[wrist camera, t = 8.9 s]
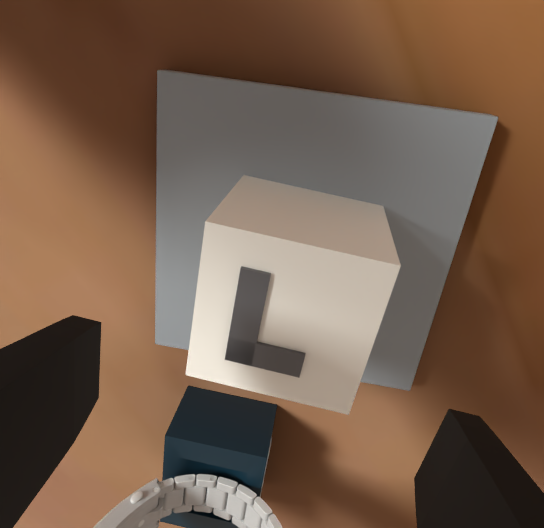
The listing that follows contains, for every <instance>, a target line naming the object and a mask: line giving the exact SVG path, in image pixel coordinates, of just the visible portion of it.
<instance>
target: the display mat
mask: <svg viewBox="0 0 544 528" xmlns="http://www.w3.org/2000/svg"><path fill="white" fill-rule="evenodd" d="M497 120H498V117H497V116H494V115H491V114H485V113H478V112H471V111H463V110H456V109H449V108H441V107H434V106H427V105H420V104H412V103H405V102H398V101H391V100H383V99H376V98H369V97H361V96H354V95H347V94H340V93H332V92H325V91H318V90H311V89H303V88H296V87H289V86H281V85H274V84H267V83H260V82H252V81H245V80H238V79H231V78H223V77H216V76H209V75H202V74H194V73H187V72H180V71H172V70H157V170H156V307H155V344H159V345H164V346H169V347H175V348H180V349H186V350H189V344H190V336H191V328H192V321H193V313H194V305H195V297H196V289H197V282H198V274H199V266H200V258H201V251H202V243H203V235H204V227H205V221H206V220H207V219H208V217H209V216H210V215H211V214H212V213H213V211H214V210H215V209H216V208H217V207H218V205H219V204H220V203H221V202H222V201H223V199H224V198H225V197H226V196H227V194H228V193H229V192H230V191H231V190H232V188H233V187H234V186H235V185H236V184H237V182H238V181H239V180H240V179H241V178H242V176H243V175H246V176H251V177H255V178H260V179H264V180H269V181H273V182H278V183H282V184H287V185H291V186H296V187H300V188H305V189H309V190H314V191H318V192H323V193H327V194H332V195H336V196H341V197H345V198H350V199H354V200H359V201H363V202H368V203H372V204H377V205H381V206H383V207H384V210H385V214H386V217H387V221H388V224H389V227H390V231H391V234H392V238H393V241H394V244H395V248H396V251H397V255H398V258H399V261H400V265H401V267H400V270H399V273H398V275H397V278H396V281H395V284H394V287H393V290H392V293H391V295H390V298H389V301H388V304H387V307H386V310H385V313H384V315H383V318H382V321H381V324H380V327H379V330H378V333H377V335H376V338H375V341H374V344H373V347H372V350H371V353H370V355H369V358H368V361H367V364H366V367H365V370H364V373H363V375H362V378H361V381H360V382H364V383H370V384H375V385H381V386H386V387H392V388H397V389H402V390H408V391H410V389H411V386H412V383H413V380H414V377H415V374H416V371H417V368H418V364H419V361H420V358H421V355H422V352H423V349H424V346H425V343H426V340H427V337H428V334H429V330H430V327H431V324H432V321H433V318H434V315H435V312H436V309H437V306H438V303H439V300H440V296H441V293H442V290H443V287H444V284H445V281H446V278H447V275H448V272H449V269H450V266H451V262H452V259H453V256H454V253H455V250H456V247H457V244H458V241H459V238H460V235H461V232H462V228H463V225H464V222H465V219H466V216H467V213H468V210H469V207H470V204H471V201H472V198H473V194H474V191H475V188H476V185H477V182H478V179H479V176H480V173H481V170H482V167H483V164H484V160H485V157H486V154H487V151H488V148H489V145H490V142H491V139H492V136H493V133H494V130H495V126H496V123H497Z"/></svg>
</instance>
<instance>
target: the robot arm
mask: <svg viewBox="0 0 544 528" xmlns="http://www.w3.org/2000/svg"><path fill="white" fill-rule="evenodd" d="M100 342H101V322H98V321H94V320H90V319H86V318H82V317H78V316H74V315H72V316H70V317H68V318H65V319H63V320H61V321H58V322H56V323H54V324H52V325H50V326H48V327H46V328H44V329H41V330H39V331H37V332H35V333H33V334H31V335H29V336H27V337H25V338H23V339H21V340H19V341H16V342H14V343H12V344H10V345H8V346H6V347H4V348H2V349H0V528H13V527H14V525H15V524H16V523H17V521H18V520H19V518H20V517H21V516H22V514H23V513H24V511H25V510H26V509H27V507H28V506H29V505H30V503H31V502H32V500H33V499H34V498H35V496H36V495H37V493H38V492H39V491H40V489H41V488H42V487H43V485H44V484H45V482H46V481H47V480H48V478H49V477H50V475H51V474H52V473H53V471H54V470H55V468H56V467H57V466H58V464H59V463H60V461H61V460H62V459H63V457H64V456H65V454H66V453H67V452H68V450H69V449H70V447H71V446H72V444H73V443H74V441H75V440H76V438H77V436H78V434H79V433H80V431H81V429H82V427H83V426H84V424H85V422H86V420H87V418H88V416H89V415H90V413H91V411H92V409H93V407H94V405H95V403H96V402H97V400H98V398H99V370H100ZM414 482H415V502H416V517H417V528H544V493H543V492H542V491H541V489H540V488H539V487H538V486H537V485H536V483H535V482H534V481H533V480H532V478H531V477H530V476H529V475H528V474H527V472H526V471H525V470H524V469H523V467H522V466H521V465H520V464H519V463H518V461H517V460H516V459H515V458H514V456H513V455H512V454H511V453H510V452H509V450H508V449H507V448H506V447H505V446H504V444H503V443H502V442H501V441H500V439H499V438H498V437H497V436H496V435H495V433H494V432H493V431H492V430H491V429H490V428H489V426H488V425H487V424H486V423H485V422H484V421H483V420H482V419H481V418H480V416H476V415H472V414H468V413H464V412H460V411H456V410H452V409H449V410H448V412H447V414H446V416H445V418H444V420H443V422H442V424H441V426H440V428H439V430H438V432H437V434H436V436H435V438H434V440H433V442H432V444H431V446H430V448H429V450H428V452H427V454H426V456H425V458H424V460H423V462H422V464H421V466H420V468H419V470H418V472H417V474H416V476H415V478H414Z"/></svg>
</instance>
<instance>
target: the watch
mask: <svg viewBox="0 0 544 528" xmlns="http://www.w3.org/2000/svg"><path fill="white" fill-rule="evenodd" d="M276 409H277V405H276V404H271V403H266V402H262V401H257V400H252V399H248V398H243V397H238V396H234V395H229V394H224V393H220V392H215V391H210V390H205V389H201V388H196V387H191V386H188V387H187V389H186V392H185V394H184V396H183V398H182V400H181V402H180V404H179V407H178V409H177V411H176V413H175V415H174V417H173V420H172V422H171V424H170V426H169V428H168V430H167V433H166V435H165V445H164V462H163V479H162V481H161V482H159V481H158V479H157V478H156V479H154V480H152V481H151V482H149V483H147V484H146V485H144V486H143V487H141V488H140V489H138V490H137V491H135V492H134V493H132V494H131V495H130V496H128V497H127V498H126V499H124V500H123V501H122V502H120V503H119V504H118V505H117V506H115V507H114V508H113V509H112V510H111V511H110V512H109V513H107V514H106V515H105V516H104V517H103V518H102V519H101V520H100V521H99V522H98V523H97V524H96V525H95V526H94V527H93V528H158V526H159V519H160V522H165V523H169V524H173V525H178V526H182V527H186V528H282V526H281V524H280V522H279V520H278V519H277V517H276V516H275V514H272V510H271V508H270V507H269V506H268V505H267V504H266V503H265V502H264V501H263V500H262V499H261V498H260V497H261V491H262V487H263V482H264V476H265V472H266V467H267V462H268V457H269V452H270V447H271V442H272V438H271V436H272V431H273V425H274V420H275V414H276Z"/></svg>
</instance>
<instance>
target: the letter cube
mask: <svg viewBox="0 0 544 528" xmlns="http://www.w3.org/2000/svg"><path fill="white" fill-rule="evenodd" d="M400 267H401V265H400V261H399V258H398V255H397V251H396V248H395V244H394V241H393V238H392V234H391V231H390V227H389V224H388V221H387V217H386V214H385V210H384V207H383V206H381V205H377V204H372V203H368V202H363V201H359V200H354V199H350V198H345V197H341V196H336V195H332V194H327V193H323V192H318V191H314V190H309V189H305V188H300V187H296V186H291V185H287V184H282V183H278V182H273V181H269V180H264V179H260V178H255V177H251V176H246V175H243V176H242V178H241V179H240V180H239V181H238V182H237V184H236V185H235V186H234V187H233V188H232V190H231V191H230V192H229V193H228V194H227V196H226V197H225V198H224V199H223V201H222V202H221V203H220V204H219V205H218V207H217V208H216V209H215V210H214V211H213V213H212V214H211V215H210V216H209V217H208V219H207V220H206V221H205V227H204V235H203V243H202V251H201V258H200V266H199V274H198V282H197V289H196V297H195V305H194V313H193V321H192V328H191V336H190V344H189V352H188V359H187V367H186V375H187V376H191V377H196V378H200V379H204V380H208V381H212V382H216V383H220V384H224V385H228V386H232V387H237V388H241V389H245V390H249V391H253V392H257V393H261V394H265V395H269V396H273V397H278V398H282V399H286V400H290V401H294V402H298V403H302V404H306V405H310V406H314V407H319V408H323V409H327V410H331V411H335V412H339V413H343V414H347V415H349V413H350V410H351V407H352V404H353V401H354V398H355V395H356V393H357V390H358V387H359V384H360V381H361V378H362V375H363V373H364V370H365V367H366V364H367V361H368V358H369V355H370V353H371V350H372V347H373V344H374V341H375V338H376V335H377V333H378V330H379V327H380V324H381V321H382V318H383V315H384V313H385V310H386V307H387V304H388V301H389V298H390V295H391V293H392V290H393V287H394V284H395V281H396V278H397V275H398V273H399V270H400Z"/></svg>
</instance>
